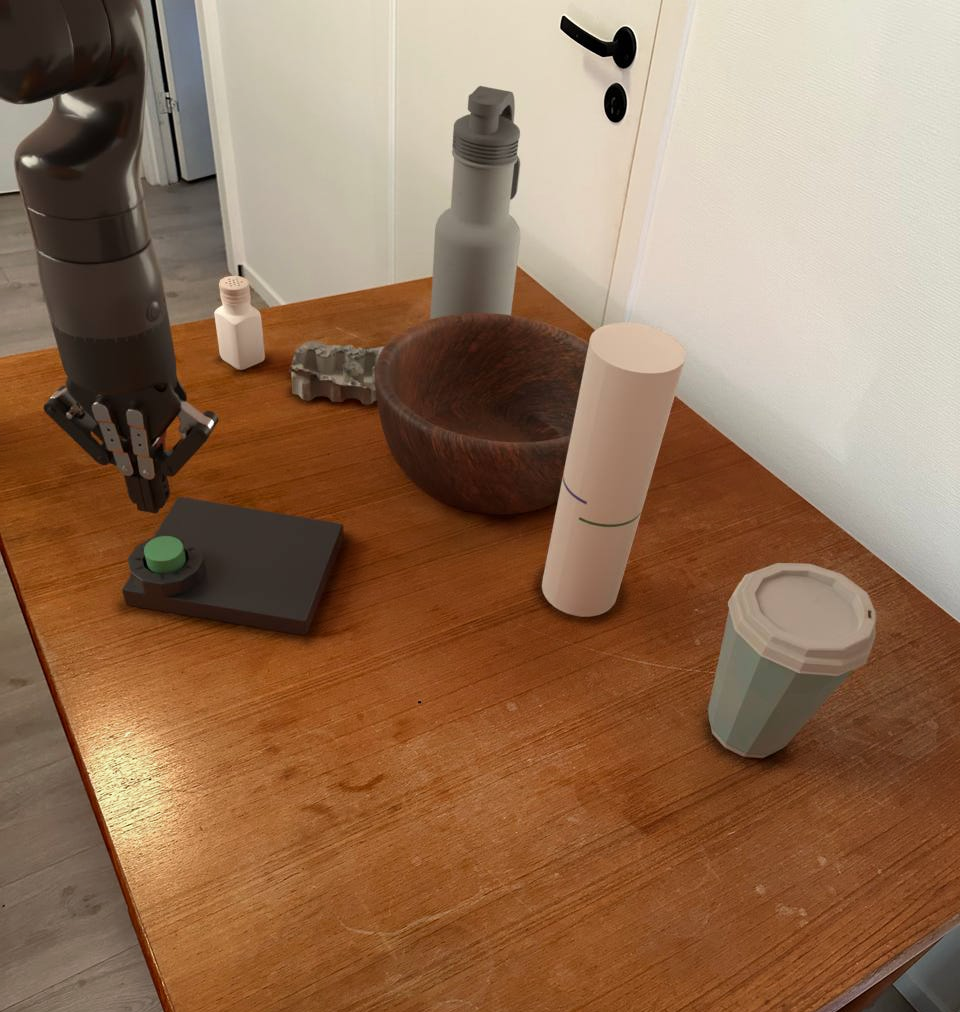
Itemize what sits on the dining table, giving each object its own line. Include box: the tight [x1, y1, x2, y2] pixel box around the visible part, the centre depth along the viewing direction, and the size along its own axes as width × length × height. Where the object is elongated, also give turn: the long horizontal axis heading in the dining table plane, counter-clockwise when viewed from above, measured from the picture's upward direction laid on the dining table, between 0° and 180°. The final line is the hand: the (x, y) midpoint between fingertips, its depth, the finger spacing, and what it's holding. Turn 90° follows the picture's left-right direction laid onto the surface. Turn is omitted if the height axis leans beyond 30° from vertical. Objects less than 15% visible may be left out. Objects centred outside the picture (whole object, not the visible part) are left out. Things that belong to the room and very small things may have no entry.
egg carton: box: [289, 340, 385, 406], centre depth 102 cm, size 11×8×4 cm
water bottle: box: [429, 85, 521, 320], centre depth 102 cm, size 10×10×28 cm
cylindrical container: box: [541, 321, 687, 618], centre depth 75 cm, size 7×7×25 cm
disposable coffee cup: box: [707, 562, 877, 759], centre depth 70 cm, size 11×11×15 cm
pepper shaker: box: [213, 275, 266, 371], centre depth 102 cm, size 4×4×10 cm
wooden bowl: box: [374, 313, 589, 515], centre depth 93 cm, size 25×25×10 cm
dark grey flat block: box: [121, 496, 344, 637], centre depth 81 cm, size 16×13×4 cm
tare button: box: [144, 536, 186, 574], centre depth 77 cm, size 3×3×2 cm
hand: (151, 505), depth 73 cm, fingers closed
